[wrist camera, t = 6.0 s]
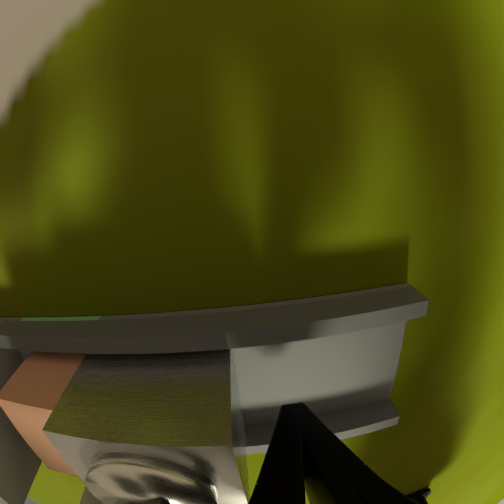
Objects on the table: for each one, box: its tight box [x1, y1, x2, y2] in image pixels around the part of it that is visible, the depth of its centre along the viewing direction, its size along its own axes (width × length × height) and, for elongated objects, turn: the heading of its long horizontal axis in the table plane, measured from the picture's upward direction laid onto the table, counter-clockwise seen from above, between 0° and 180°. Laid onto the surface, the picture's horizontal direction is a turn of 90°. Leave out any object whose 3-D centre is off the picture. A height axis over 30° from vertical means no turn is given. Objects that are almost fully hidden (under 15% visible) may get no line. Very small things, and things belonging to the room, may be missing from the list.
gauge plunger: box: [42, 349, 250, 504], centre depth 8 cm, size 5×4×5 cm
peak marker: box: [0, 351, 86, 476], centre depth 9 cm, size 3×4×4 cm
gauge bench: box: [0, 283, 429, 504], centre depth 8 cm, size 18×6×6 cm, turn 95°
